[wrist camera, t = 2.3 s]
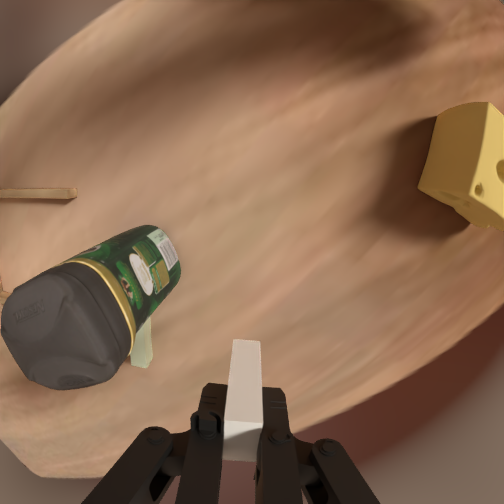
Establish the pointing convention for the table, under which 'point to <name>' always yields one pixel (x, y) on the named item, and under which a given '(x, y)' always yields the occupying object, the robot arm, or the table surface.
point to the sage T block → (142, 347)
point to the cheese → (468, 163)
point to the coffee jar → (89, 309)
